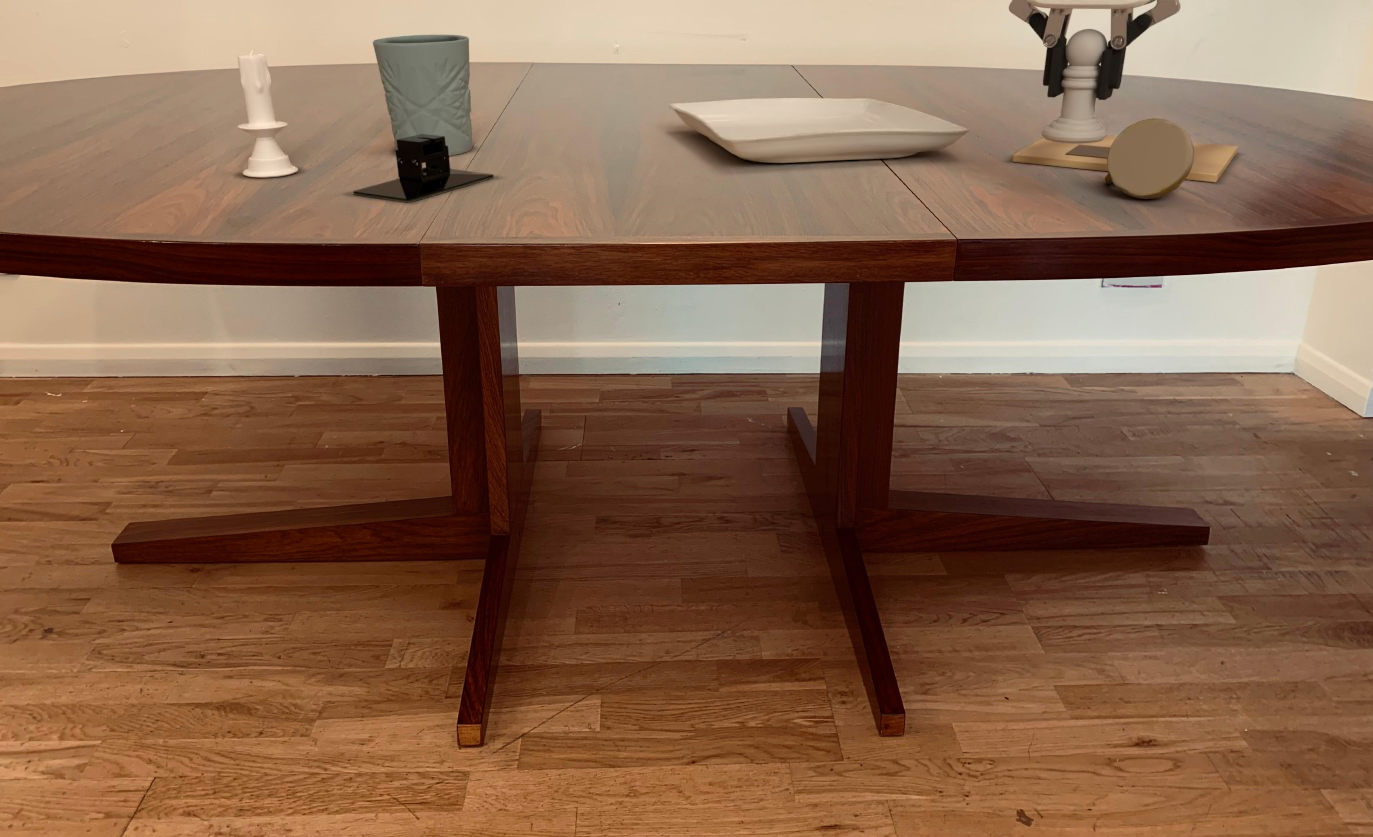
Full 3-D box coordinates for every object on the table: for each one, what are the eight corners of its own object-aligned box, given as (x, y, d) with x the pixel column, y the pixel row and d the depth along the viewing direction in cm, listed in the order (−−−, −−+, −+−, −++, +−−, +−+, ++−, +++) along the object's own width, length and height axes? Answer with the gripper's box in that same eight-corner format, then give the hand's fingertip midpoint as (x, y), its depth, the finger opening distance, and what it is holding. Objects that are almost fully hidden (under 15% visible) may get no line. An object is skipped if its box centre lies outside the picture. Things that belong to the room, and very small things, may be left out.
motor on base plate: (409, 204, 92) (402, 152, 90) (350, 195, 95) (342, 145, 93) (494, 177, 102) (490, 130, 100) (438, 170, 105) (433, 124, 103)
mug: (1196, 187, 98) (1231, 103, 90) (1151, 248, 94) (1183, 165, 86) (1123, 159, 101) (1150, 75, 93) (1076, 217, 98) (1100, 134, 89)
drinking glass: (496, 149, 116) (487, 37, 111) (423, 162, 109) (410, 43, 104) (441, 139, 122) (430, 32, 117) (368, 151, 115) (353, 38, 110)
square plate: (970, 162, 109) (974, 125, 107) (725, 174, 103) (725, 135, 101) (869, 123, 133) (872, 92, 131) (666, 131, 127) (666, 99, 125)
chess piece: (1115, 137, 88) (1131, 27, 85) (1091, 146, 85) (1107, 32, 81) (1056, 132, 92) (1069, 25, 88) (1030, 140, 88) (1043, 30, 84)
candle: (300, 166, 107) (281, 45, 102) (295, 176, 102) (275, 50, 97) (246, 168, 106) (224, 47, 101) (239, 179, 101) (215, 52, 96)
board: (1236, 153, 113) (1238, 145, 113) (1216, 182, 99) (1218, 173, 99) (1053, 137, 123) (1055, 129, 122) (1012, 161, 109) (1013, 153, 109)
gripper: (993, -144, 80) (970, 97, 88) (1224, -159, 72) (1176, 108, 80) (1019, -139, 86) (996, 87, 94) (1236, -152, 78) (1190, 96, 86)
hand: (1079, 94), depth 87 cm, fingers closed on chess piece, 3 cm apart
